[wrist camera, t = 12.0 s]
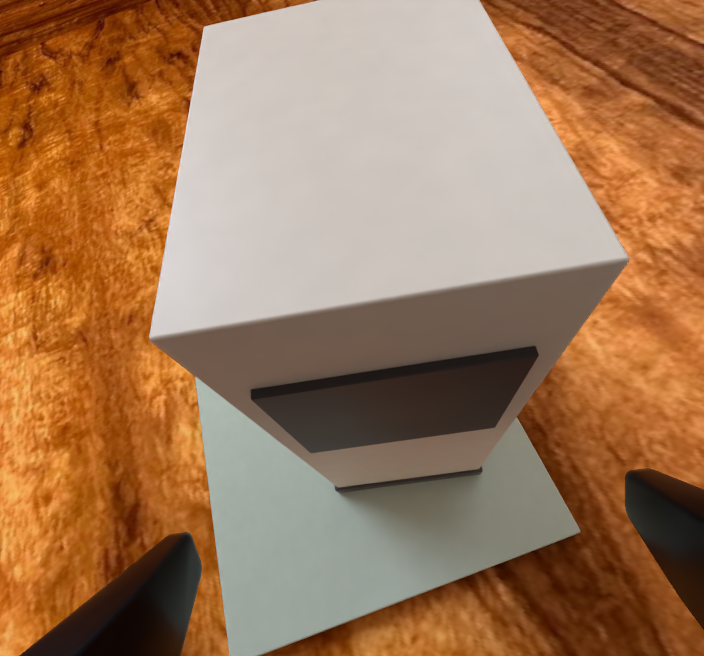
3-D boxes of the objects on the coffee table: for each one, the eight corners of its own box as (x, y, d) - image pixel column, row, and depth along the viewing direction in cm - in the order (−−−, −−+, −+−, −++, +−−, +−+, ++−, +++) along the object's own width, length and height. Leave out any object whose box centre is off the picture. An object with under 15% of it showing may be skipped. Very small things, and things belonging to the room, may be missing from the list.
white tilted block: (438, 306, 18) (465, -37, 7) (481, 476, 14) (651, 269, 4) (324, 324, 18) (198, 24, 8) (337, 494, 15) (135, 354, 4)
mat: (576, 532, 13) (582, 532, 13) (236, 663, 13) (229, 667, 13) (430, 269, 19) (430, 263, 19) (196, 354, 19) (190, 349, 19)
